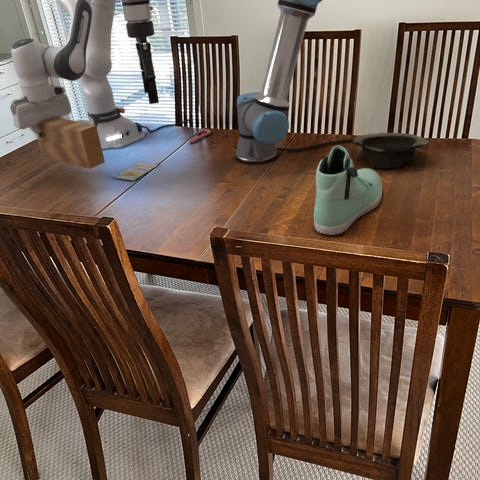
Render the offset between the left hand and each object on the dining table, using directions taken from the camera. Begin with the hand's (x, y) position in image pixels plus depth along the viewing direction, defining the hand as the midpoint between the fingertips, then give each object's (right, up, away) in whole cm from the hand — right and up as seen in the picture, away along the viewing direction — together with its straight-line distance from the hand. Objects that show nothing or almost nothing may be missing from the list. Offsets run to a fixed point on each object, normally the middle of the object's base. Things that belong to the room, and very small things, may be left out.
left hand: (48, 133), depth 164 cm
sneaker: (+97, -27, -25) cm, 104 cm away
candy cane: (+48, +6, +36) cm, 61 cm away
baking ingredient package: (+28, -12, +10) cm, 32 cm away
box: (+9, -9, -2) cm, 13 cm away
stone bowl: (+117, -8, +3) cm, 117 cm away
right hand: (+39, +7, -19) cm, 44 cm away
